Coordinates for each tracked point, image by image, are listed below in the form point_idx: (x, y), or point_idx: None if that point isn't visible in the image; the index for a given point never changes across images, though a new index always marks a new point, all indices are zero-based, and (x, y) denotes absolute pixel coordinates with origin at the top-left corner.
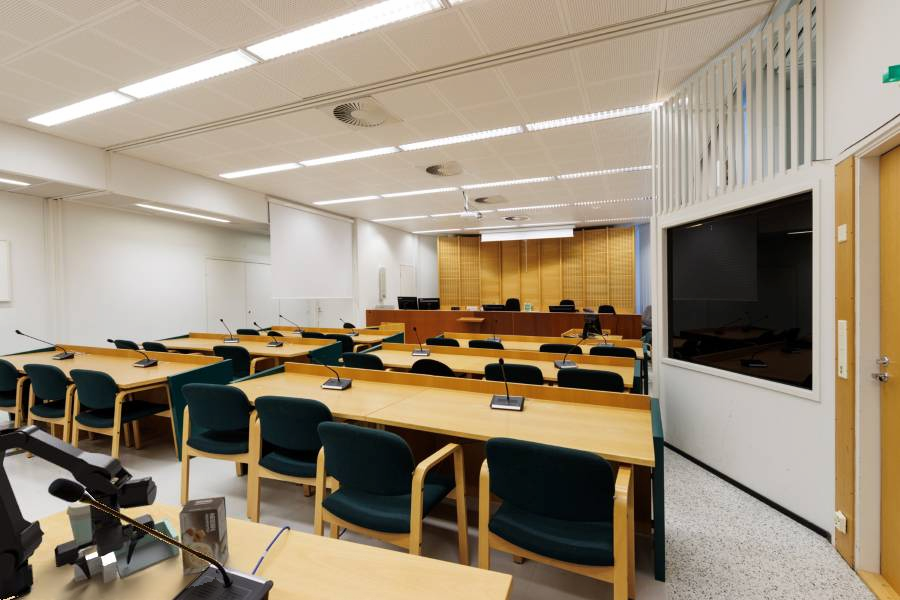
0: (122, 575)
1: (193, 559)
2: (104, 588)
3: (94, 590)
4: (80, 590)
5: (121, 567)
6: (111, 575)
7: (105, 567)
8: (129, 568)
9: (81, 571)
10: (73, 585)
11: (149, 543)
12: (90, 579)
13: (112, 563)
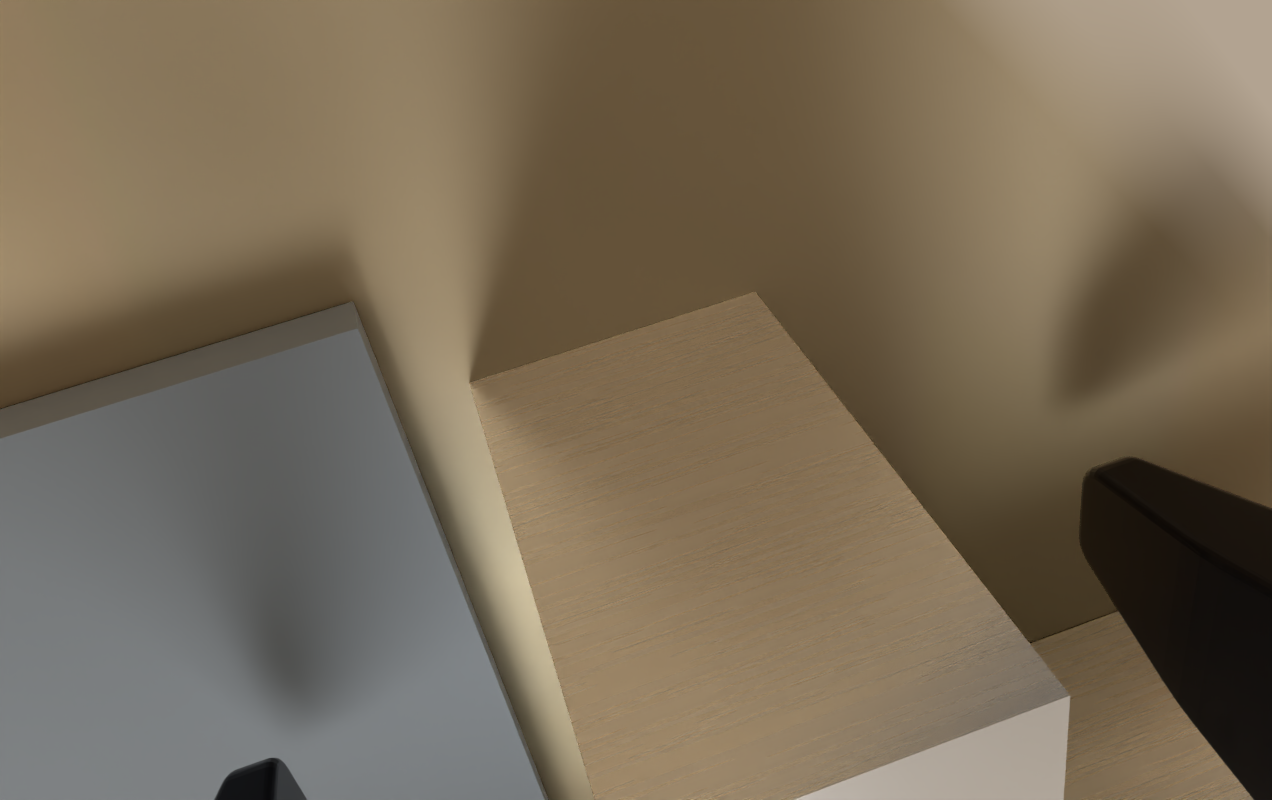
0: (321, 372)
1: None
2: (753, 5)
3: (981, 67)
4: (1212, 258)
5: (434, 720)
6: (639, 420)
7: (946, 635)
8: (193, 621)
9: None
10: (1258, 497)
11: None
12: (1099, 467)
13: (735, 762)
